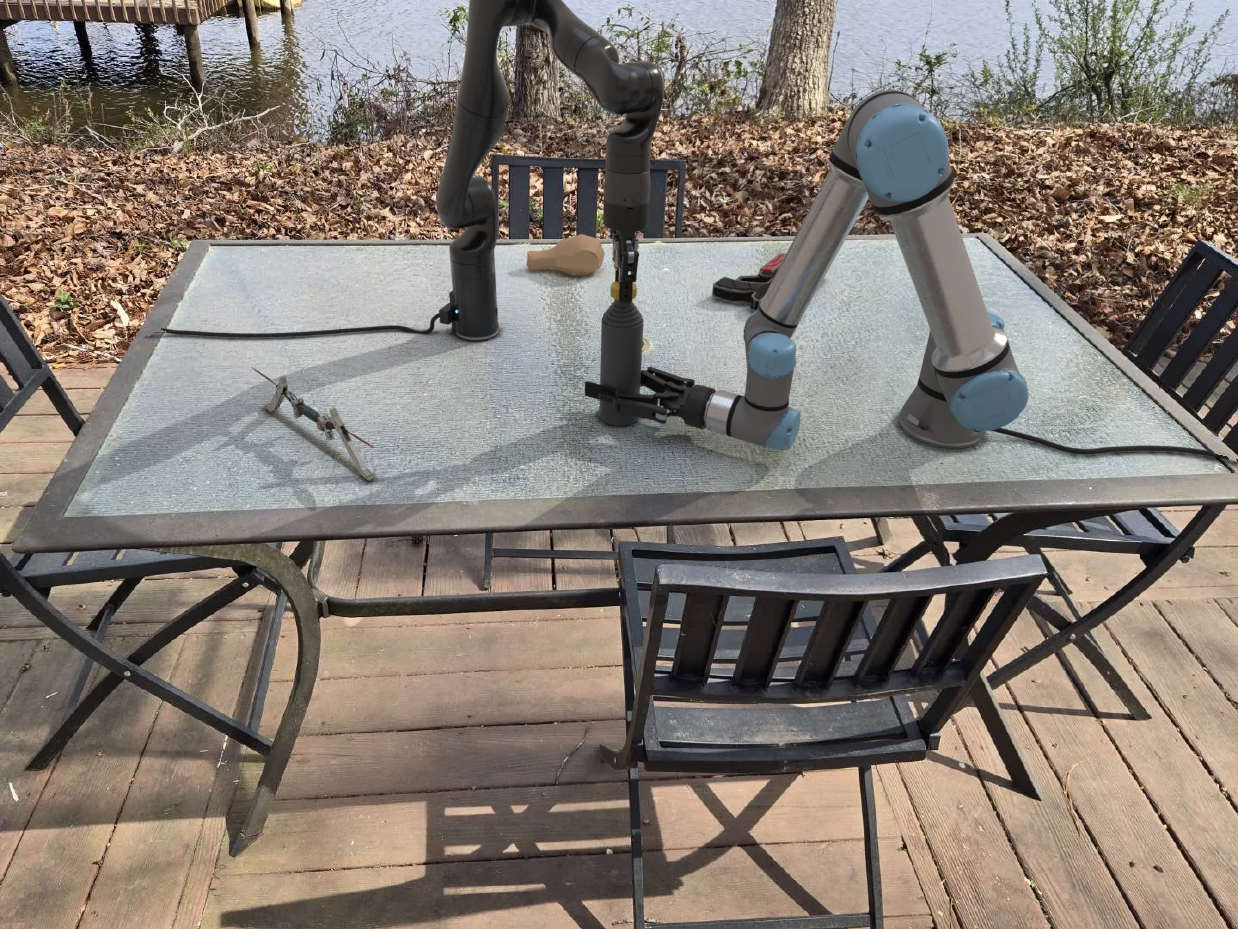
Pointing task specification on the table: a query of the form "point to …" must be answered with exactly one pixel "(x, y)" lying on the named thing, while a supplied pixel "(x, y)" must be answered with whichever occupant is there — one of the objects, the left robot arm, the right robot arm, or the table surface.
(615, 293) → the cap
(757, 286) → the gun
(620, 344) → the bottle
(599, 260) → the squash
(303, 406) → the bow
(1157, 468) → the table surface
